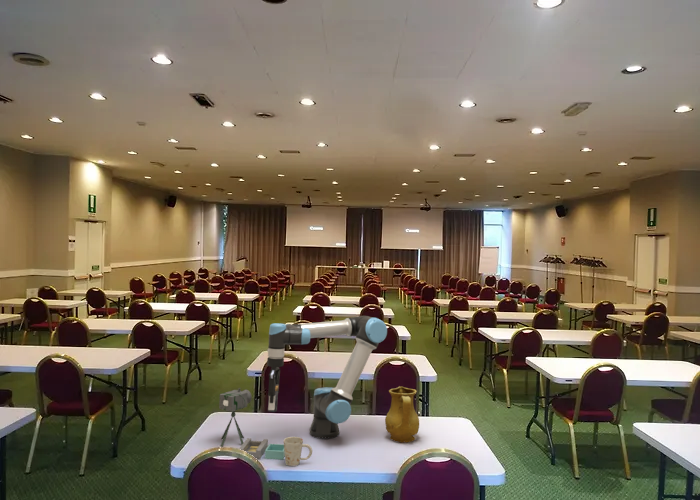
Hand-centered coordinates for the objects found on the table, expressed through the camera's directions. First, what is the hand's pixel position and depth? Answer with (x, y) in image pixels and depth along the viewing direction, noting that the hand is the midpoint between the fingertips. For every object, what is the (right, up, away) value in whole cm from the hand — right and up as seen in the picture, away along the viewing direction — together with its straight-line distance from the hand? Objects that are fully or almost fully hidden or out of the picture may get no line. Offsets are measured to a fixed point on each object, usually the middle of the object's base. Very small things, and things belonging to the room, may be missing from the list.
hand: (272, 408), depth 223 cm
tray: (+3, -20, -5) cm, 20 cm away
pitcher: (+61, -22, +19) cm, 68 cm away
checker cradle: (-8, -19, -3) cm, 21 cm away
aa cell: (0, -1, 0) cm, 1 cm away
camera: (-20, -20, +10) cm, 30 cm away
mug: (+13, -20, -13) cm, 27 cm away
